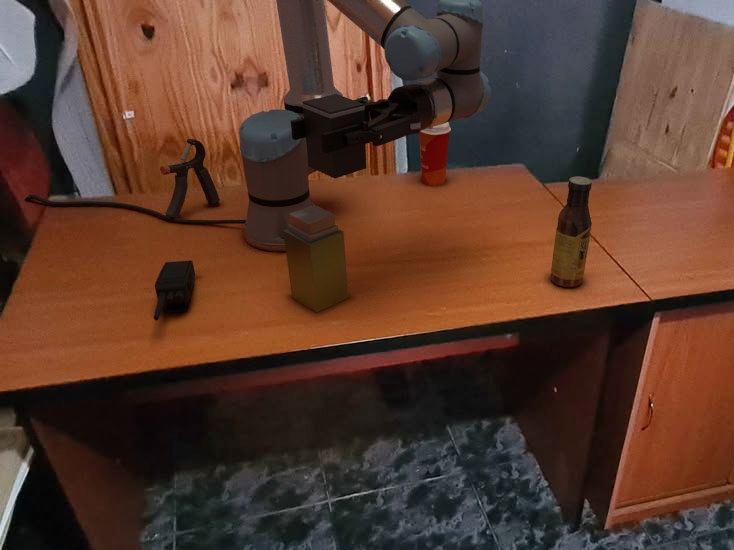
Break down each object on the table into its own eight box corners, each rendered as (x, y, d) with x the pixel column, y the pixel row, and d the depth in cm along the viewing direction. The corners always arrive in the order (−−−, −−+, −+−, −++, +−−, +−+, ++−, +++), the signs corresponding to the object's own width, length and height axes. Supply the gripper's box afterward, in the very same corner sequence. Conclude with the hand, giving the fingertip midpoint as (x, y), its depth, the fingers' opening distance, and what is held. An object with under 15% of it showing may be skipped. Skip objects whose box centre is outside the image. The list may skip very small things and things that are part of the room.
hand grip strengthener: (164, 221, 142) (147, 149, 133) (214, 202, 150) (201, 133, 141) (171, 224, 141) (154, 152, 132) (221, 205, 149) (208, 136, 141)
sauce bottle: (581, 291, 128) (597, 190, 116) (547, 286, 129) (560, 185, 117) (583, 274, 133) (599, 176, 122) (551, 269, 134) (564, 171, 122)
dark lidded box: (307, 166, 108) (301, 101, 102) (340, 156, 112) (336, 93, 106) (334, 179, 104) (330, 112, 98) (367, 168, 109) (364, 103, 103)
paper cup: (421, 173, 170) (421, 116, 161) (451, 176, 169) (453, 119, 161) (414, 185, 164) (414, 126, 155) (446, 189, 163) (447, 130, 155)
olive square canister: (291, 297, 121) (280, 213, 112) (323, 283, 126) (315, 201, 116) (316, 313, 118) (307, 227, 108) (348, 298, 122) (342, 214, 112)
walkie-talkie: (206, 265, 124) (195, 316, 108) (185, 289, 126) (171, 343, 109) (175, 244, 121) (159, 293, 105) (154, 269, 122) (135, 321, 106)
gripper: (460, 144, 113) (352, 180, 99) (379, 114, 123) (271, 144, 108) (462, 97, 109) (350, 128, 94) (378, 70, 118) (265, 95, 104)
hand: (308, 136), depth 101 cm, fingers closed on dark lidded box, 6 cm apart
